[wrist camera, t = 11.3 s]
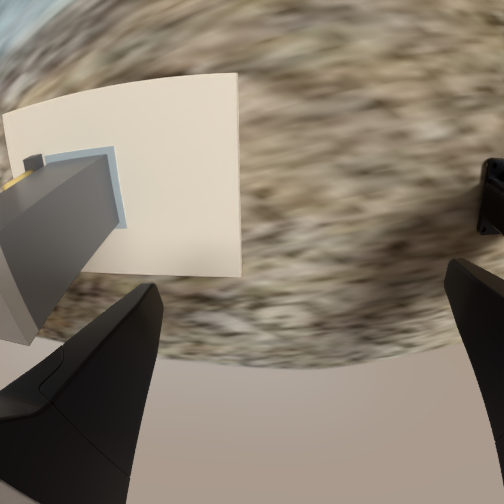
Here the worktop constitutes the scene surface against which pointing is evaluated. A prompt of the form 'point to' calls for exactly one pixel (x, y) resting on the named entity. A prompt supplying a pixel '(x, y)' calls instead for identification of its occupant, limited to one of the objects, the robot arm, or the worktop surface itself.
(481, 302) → the robot arm
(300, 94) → the worktop surface
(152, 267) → the board
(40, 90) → the worktop surface
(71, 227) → the plug block
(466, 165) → the worktop surface
